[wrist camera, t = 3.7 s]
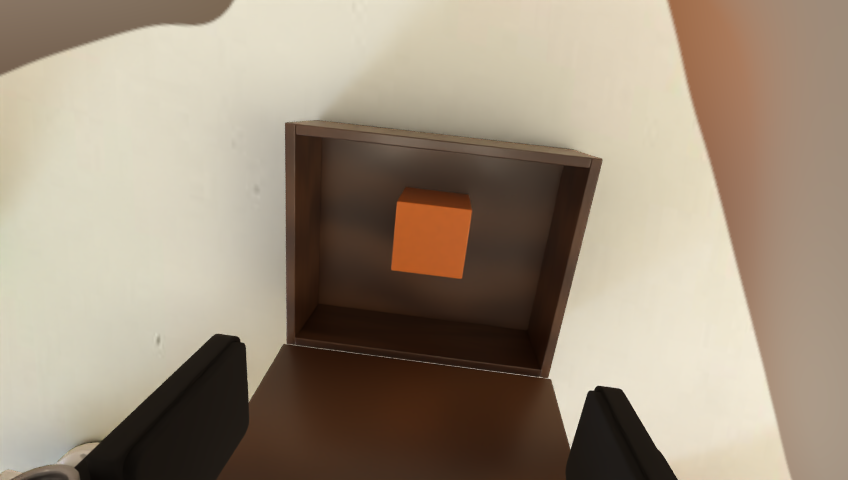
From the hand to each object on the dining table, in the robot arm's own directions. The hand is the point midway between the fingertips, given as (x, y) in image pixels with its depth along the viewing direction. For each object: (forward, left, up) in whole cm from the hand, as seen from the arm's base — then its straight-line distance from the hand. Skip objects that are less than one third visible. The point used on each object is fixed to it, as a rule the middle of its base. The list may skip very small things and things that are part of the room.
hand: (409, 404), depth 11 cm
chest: (0, -1, -20) cm, 20 cm away
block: (0, 0, -19) cm, 19 cm away
